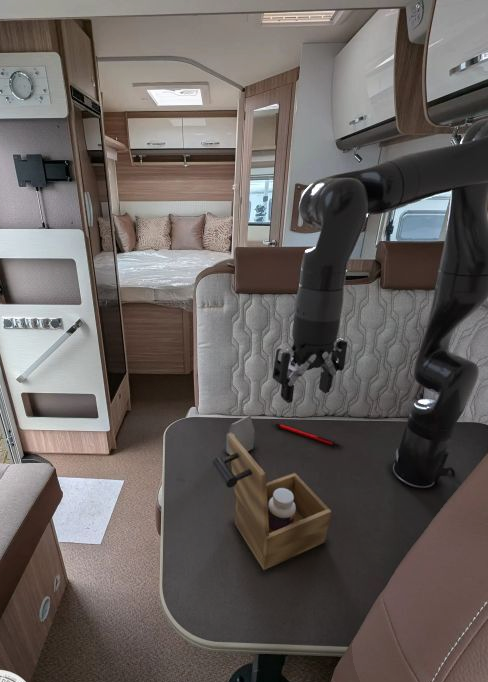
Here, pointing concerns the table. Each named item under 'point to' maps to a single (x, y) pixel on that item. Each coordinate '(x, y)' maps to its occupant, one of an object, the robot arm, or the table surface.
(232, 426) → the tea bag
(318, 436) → the pen
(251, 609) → the table surface
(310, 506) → the chest
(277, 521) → the pill bottle
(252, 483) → the lid
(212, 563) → the table surface
